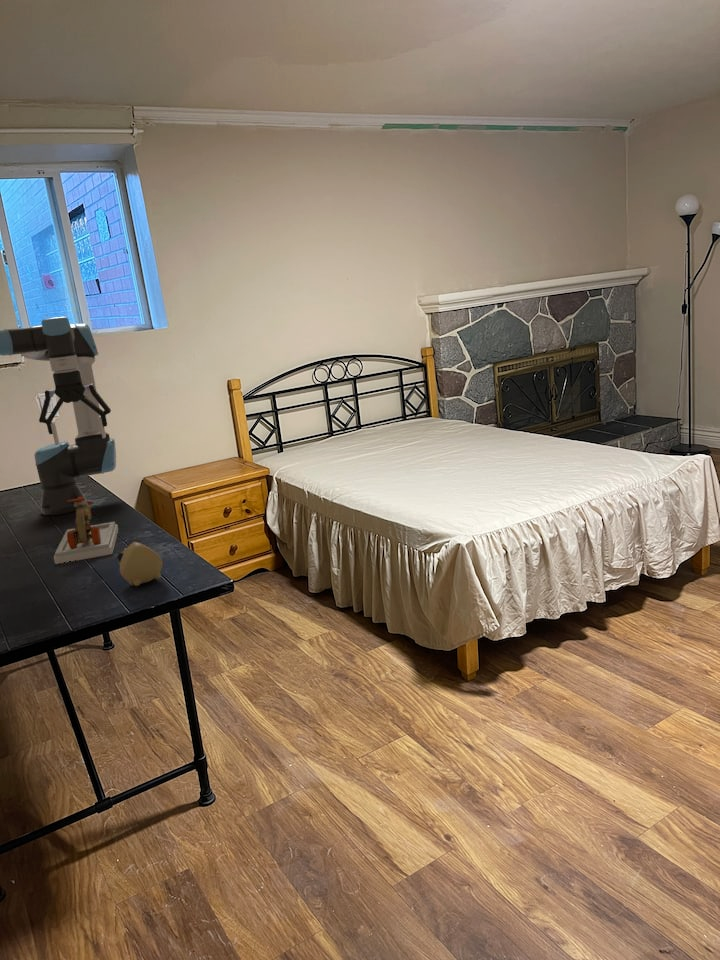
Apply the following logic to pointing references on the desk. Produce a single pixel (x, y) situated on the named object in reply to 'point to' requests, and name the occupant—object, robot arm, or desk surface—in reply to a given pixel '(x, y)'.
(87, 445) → the robot arm
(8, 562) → the desk surface
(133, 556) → the toy pig
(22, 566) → the desk surface
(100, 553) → the plate
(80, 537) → the toy helicopter
